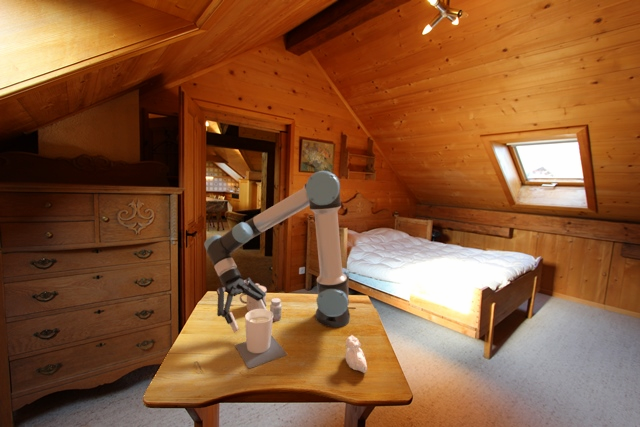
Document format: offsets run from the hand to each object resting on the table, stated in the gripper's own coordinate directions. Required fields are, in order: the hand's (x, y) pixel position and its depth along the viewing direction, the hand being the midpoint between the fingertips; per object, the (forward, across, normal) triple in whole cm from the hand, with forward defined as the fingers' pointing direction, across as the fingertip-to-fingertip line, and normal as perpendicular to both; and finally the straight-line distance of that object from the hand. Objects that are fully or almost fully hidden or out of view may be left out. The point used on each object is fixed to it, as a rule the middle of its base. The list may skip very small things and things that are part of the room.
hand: (252, 323), depth 101 cm
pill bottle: (+1, -18, -11) cm, 22 cm away
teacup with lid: (-9, -18, -21) cm, 29 cm away
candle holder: (+8, -1, -4) cm, 9 cm away
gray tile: (+9, 0, -3) cm, 10 cm away
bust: (+30, -16, +18) cm, 38 cm away
